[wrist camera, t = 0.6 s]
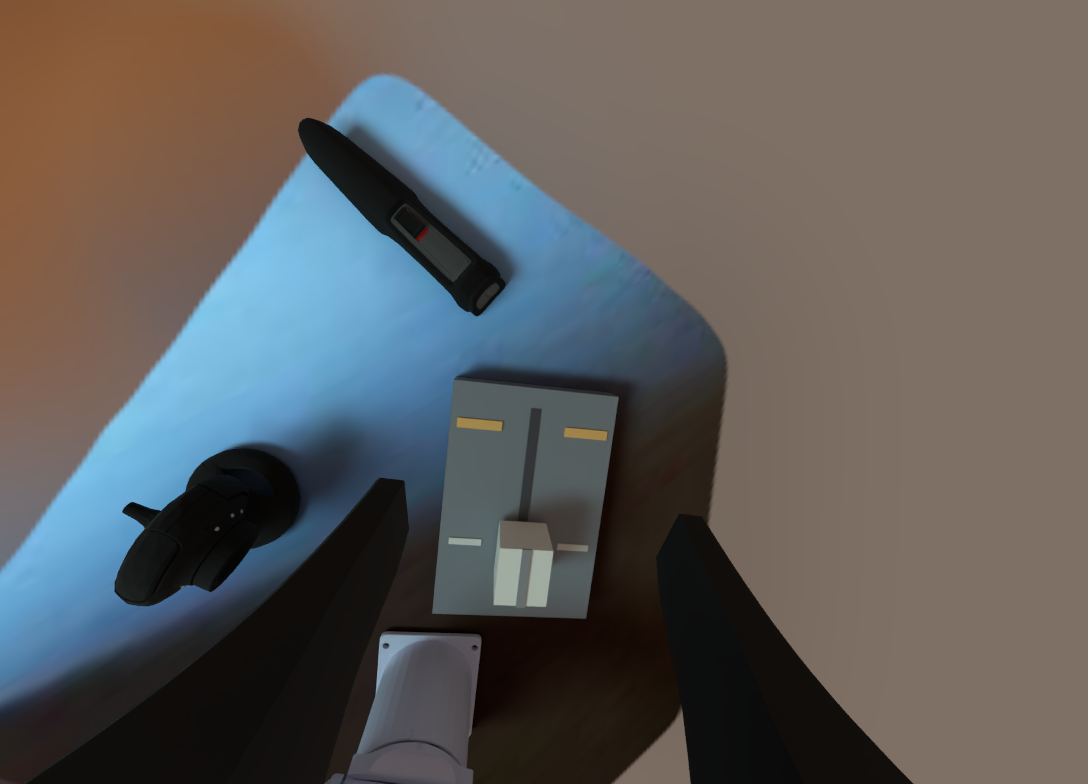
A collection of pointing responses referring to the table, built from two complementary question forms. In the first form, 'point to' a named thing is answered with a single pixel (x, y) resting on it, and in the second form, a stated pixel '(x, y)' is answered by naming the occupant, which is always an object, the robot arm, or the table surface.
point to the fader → (522, 564)
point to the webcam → (206, 528)
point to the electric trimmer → (402, 217)
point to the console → (522, 489)
